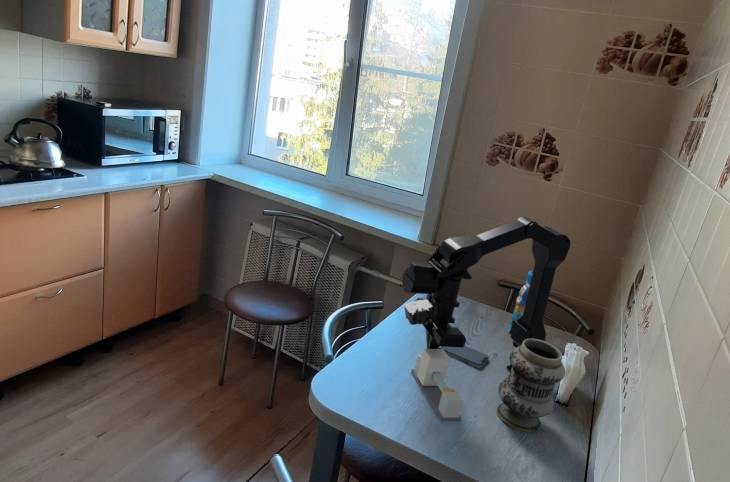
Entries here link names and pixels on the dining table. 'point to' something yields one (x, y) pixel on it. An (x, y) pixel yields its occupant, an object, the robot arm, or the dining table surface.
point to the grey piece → (441, 397)
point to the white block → (432, 366)
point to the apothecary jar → (530, 384)
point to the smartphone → (466, 355)
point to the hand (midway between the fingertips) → (429, 353)
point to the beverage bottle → (521, 300)
